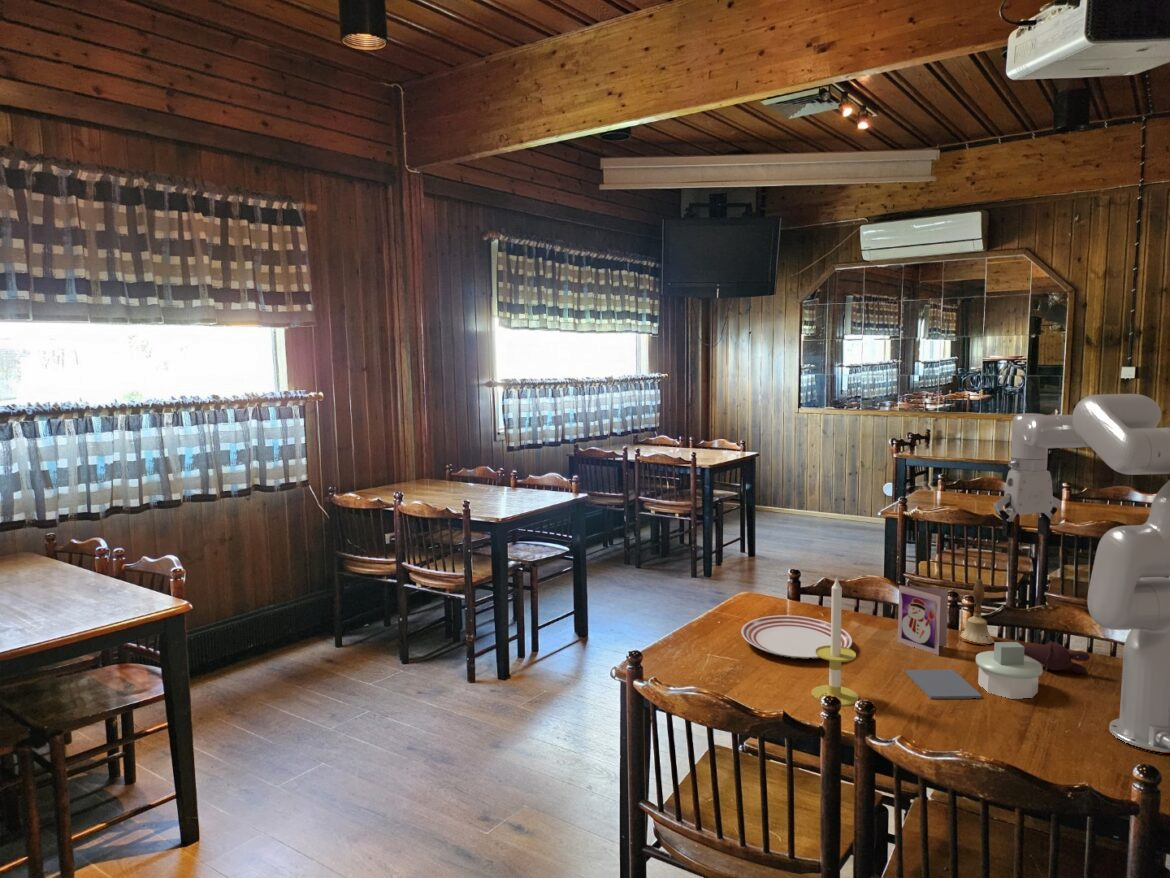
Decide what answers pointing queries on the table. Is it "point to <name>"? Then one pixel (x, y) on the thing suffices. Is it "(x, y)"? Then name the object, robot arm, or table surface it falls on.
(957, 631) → the table surface
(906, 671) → the mat
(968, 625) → the hand bell
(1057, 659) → the icecream
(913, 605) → the greeting card
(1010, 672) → the lid
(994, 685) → the bowl
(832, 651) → the candle
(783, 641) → the dinner plate
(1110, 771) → the table surface
